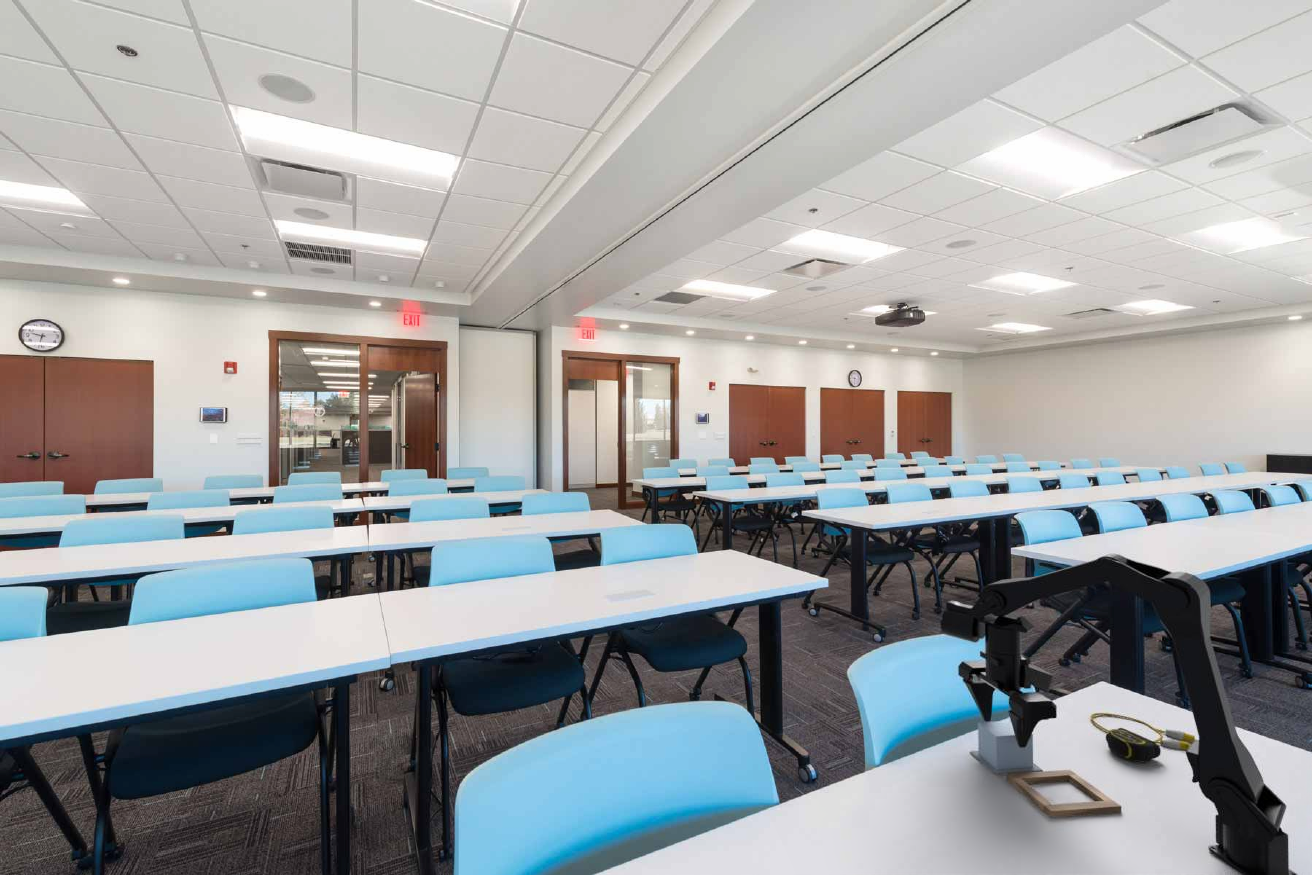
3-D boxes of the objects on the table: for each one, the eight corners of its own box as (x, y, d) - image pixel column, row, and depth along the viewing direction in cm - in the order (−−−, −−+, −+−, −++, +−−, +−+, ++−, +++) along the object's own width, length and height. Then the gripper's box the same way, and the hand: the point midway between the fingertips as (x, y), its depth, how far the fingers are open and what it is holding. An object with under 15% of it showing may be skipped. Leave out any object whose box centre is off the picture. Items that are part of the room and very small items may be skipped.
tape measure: (1163, 762, 104) (1163, 742, 104) (1137, 769, 102) (1137, 748, 102) (1122, 743, 110) (1122, 724, 110) (1097, 749, 108) (1097, 729, 108)
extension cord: (1170, 763, 104) (1170, 752, 104) (1078, 724, 119) (1078, 714, 119) (1204, 747, 109) (1204, 737, 109) (1112, 712, 124) (1112, 703, 124)
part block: (1033, 767, 102) (1032, 734, 102) (996, 769, 101) (996, 736, 101) (1013, 751, 107) (1013, 720, 107) (978, 753, 106) (978, 722, 106)
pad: (1042, 771, 101) (1042, 769, 101) (995, 774, 100) (995, 772, 100) (1014, 750, 108) (1014, 748, 108) (970, 752, 107) (970, 751, 107)
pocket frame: (1121, 812, 90) (1121, 805, 90) (1051, 817, 89) (1051, 811, 89) (1070, 775, 100) (1070, 769, 100) (1006, 779, 99) (1006, 773, 99)
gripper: (1086, 667, 96) (1087, 759, 96) (1008, 630, 114) (1009, 707, 114) (1024, 670, 95) (1025, 763, 95) (956, 632, 113) (957, 710, 113)
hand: (1004, 733), depth 104 cm, fingers open, 9 cm apart
